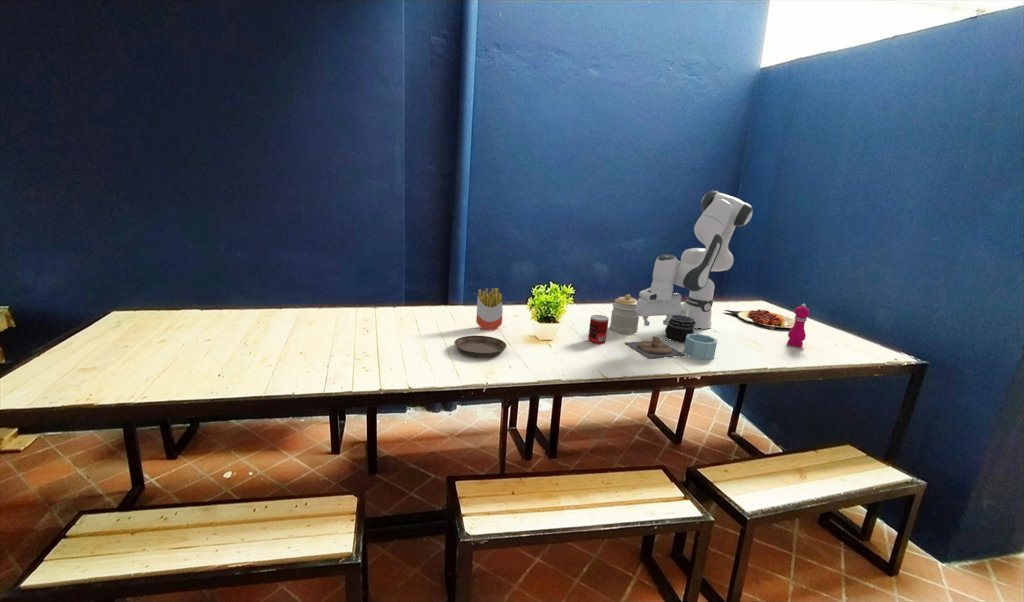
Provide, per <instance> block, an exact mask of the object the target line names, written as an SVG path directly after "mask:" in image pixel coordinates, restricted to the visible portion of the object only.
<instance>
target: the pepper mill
mask: <svg viewBox="0 0 1024 602" xmlns="http://www.w3.org/2000/svg"><path fill="white" fill-rule="evenodd" d="M806 306H807V305H806V304H805V303H802V304H801V305H800V306H798V307H796V308H795V309H794V318H793V320H795V323H794V326H793V327H792V328H790V329H789V331H788V334H787V338H788V339H787V345H789V346H791V347H796V348H802V347H803V345H804V341H806V336H807V335H806V329H805V323H806V322H807V320H808V317H809V316H810V313H811V312H810V310H809V308H807V307H806Z"/></svg>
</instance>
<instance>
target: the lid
mask: <svg viewBox="0 0 1024 602" xmlns="http://www.w3.org/2000/svg"><path fill="white" fill-rule="evenodd" d="M641 341H642V342H640V341H638V342H639V343H638V348H639V349H641V350H643V351H645V352H648V353H652V354H661V355H663V354H669V353H671V352H672V348H673V347H672V346H671V345H668V344H667V343H665V342H663V343H661V342H659V341H661V337H660V336H655V335H654V336H652V338H651V340H641ZM664 343H665V344H664ZM671 347H672V348H671Z"/></svg>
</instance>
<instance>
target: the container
mask: <svg viewBox="0 0 1024 602" xmlns="http://www.w3.org/2000/svg"><path fill="white" fill-rule="evenodd" d="M695 324H696V322H695V320H694V319H692V318H690V317H687V316H681V315H672V318H671V319H670V320H669V323H668V325H666V327H665V330H664V333H665V337H667V338H668V340H669V339H671V340H670V341H672V340H673V341H672V342H676V341H678V342H677V343H682V342H683V343H685V340H686V336H687V334H695V333H694V329H695V328H694V325H695ZM667 338H666V339H667Z"/></svg>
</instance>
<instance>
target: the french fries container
mask: <svg viewBox="0 0 1024 602" xmlns="http://www.w3.org/2000/svg"><path fill="white" fill-rule="evenodd" d="M476 303H477V304H476V317H475V318H476V321H475V323H476V324H477V325H478V327H480V328H481V329H483V331H489V330H492V331H495V330H497V329H499V328H500V326H502V325H503V324H502V323H503V295H502V294H501V293H499V288H498V287H497V288H492V289H491V291H488V288H485V290H483V291H482V289H478V295H477V302H476Z"/></svg>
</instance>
